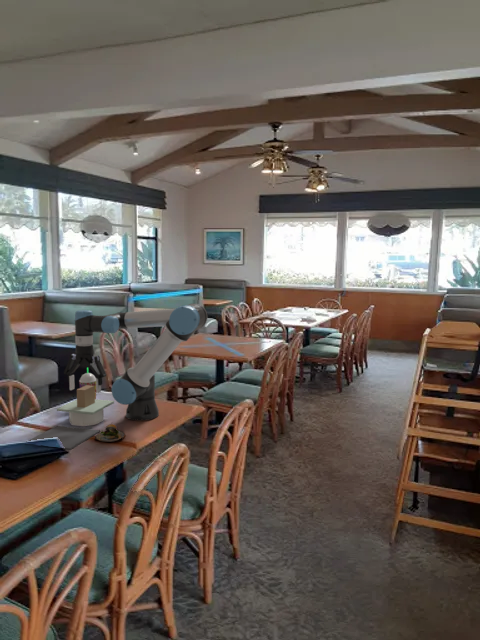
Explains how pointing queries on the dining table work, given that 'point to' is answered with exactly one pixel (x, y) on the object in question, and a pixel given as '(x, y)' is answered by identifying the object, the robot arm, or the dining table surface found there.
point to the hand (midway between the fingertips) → (85, 390)
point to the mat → (68, 435)
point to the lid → (85, 402)
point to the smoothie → (88, 380)
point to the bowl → (86, 418)
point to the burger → (110, 434)
